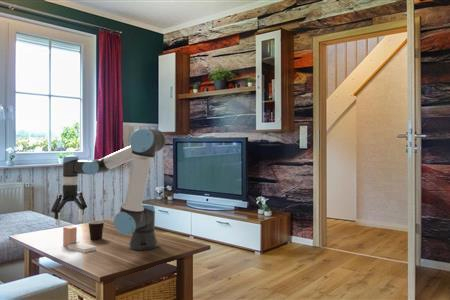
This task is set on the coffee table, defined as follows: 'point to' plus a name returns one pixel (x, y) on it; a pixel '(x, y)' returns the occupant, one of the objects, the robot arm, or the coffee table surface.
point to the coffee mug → (96, 230)
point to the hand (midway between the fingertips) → (69, 223)
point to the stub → (69, 235)
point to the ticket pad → (81, 247)
